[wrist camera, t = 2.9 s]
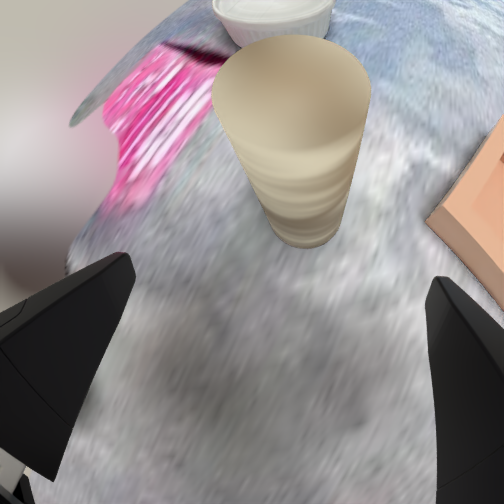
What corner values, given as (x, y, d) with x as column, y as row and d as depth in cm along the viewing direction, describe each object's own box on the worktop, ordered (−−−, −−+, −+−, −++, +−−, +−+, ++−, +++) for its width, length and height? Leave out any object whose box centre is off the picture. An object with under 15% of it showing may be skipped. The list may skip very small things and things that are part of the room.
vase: (306, 264, 20) (294, 183, 8) (254, 213, 22) (182, 94, 9) (356, 211, 20) (400, 82, 8) (303, 166, 22) (285, 19, 9)
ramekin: (225, 12, 28) (213, -22, 22) (323, 0, 26) (321, -36, 20) (224, 74, 25) (207, 33, 20) (347, 60, 23) (349, 17, 18)
